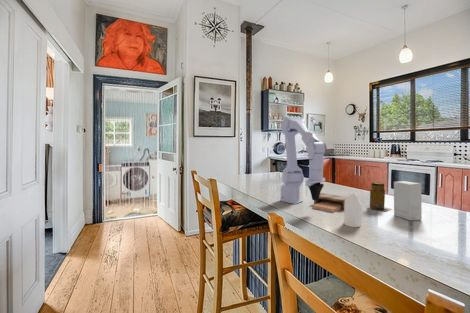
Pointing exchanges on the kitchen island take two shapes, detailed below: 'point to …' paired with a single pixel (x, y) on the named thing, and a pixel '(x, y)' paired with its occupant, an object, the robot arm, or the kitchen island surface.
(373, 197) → the condiment
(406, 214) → the skincare box
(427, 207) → the kitchen island surface
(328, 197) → the shelf
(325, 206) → the tile
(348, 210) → the white pointed crystal
